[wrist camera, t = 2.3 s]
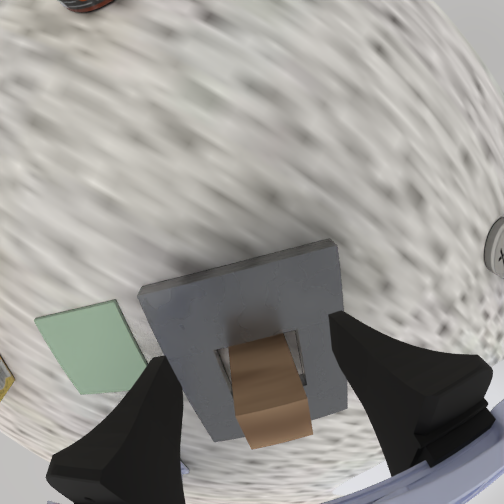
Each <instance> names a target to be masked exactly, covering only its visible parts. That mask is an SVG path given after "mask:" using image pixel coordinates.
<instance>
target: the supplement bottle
mask: <svg viewBox="0 0 504 504" xmlns="http://www.w3.org/2000/svg"><path fill="white" fill-rule="evenodd" d="M57 1H59V2H60V3H61V4H62V5H63V6H64V7H66V8H67V9H69V10H71V11H74V12H87V11H92V10H95V9H98V8H101V7H103V6H104V5H106V4H108V3H110V2H111V1H113V0H57Z"/></svg>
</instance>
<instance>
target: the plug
mask: <svg viewBox="0 0 504 504" xmlns="http://www.w3.org/2000/svg"><path fill="white" fill-rule="evenodd" d="M228 348H229V359H230V370H231V380H232V390H233V399H234V409H235V417H236V419H237V421H238V423H239V425H240V427H241V429H242V431H243V433H244V435H245V437H246V439H247V441H248V443H249V445H250V447H251V449H257V448H262V447H266V446H271V445H275V444H279V443H283V442H287V441H291V440H295V439H298V438H302V437H306V436H309V435H312V434H313V430H312V424H311V418H310V411H309V405H308V399H307V396H306V393H305V391H304V388H303V385H302V382H301V380H300V377H299V374H298V372H297V369H296V366H295V363H294V361H293V358H292V355H291V353H290V350H289V347H288V345H287V342H286V339H285V336H284V334H283V333H281V334H277V335H274V336H270V337H266V338H262V339H258V340H254V341H250V342H246V343H242V344H238V345H234V346H230V347H228Z"/></svg>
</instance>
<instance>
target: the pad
mask: <svg viewBox="0 0 504 504" xmlns="http://www.w3.org/2000/svg"><path fill="white" fill-rule="evenodd" d="M34 322H35V324H36V326H37V327H38V329H39V331H40V333H41V334H42V336H43V338H44V340H45V341H46V343H47V345H48V346H49V348H50V350H51V351H52V353H53V355H54V356H55V358H56V359H57V361H58V362H59V364H60V366H61V367H62V369H63V370H64V372H65V373H66V375H67V376H68V377H69V379H70V380H71V382H72V383H73V385H74V386H75V387H76V389H77V390H78V391H79V393H80V394H81V395H82V394H97V393H109V392H120V391H129V390H130V389H131V388H132V386H133V385H134V383H135V382H136V381H137V379H138V378H139V377H140V375H141V374H142V372H143V371H144V369H145V368H146V366H147V365H148V364H147V362H146V360H145V358H144V356H143V354H142V353H141V351H140V349H139V347H138V345H137V343H136V341H135V339H134V337H133V335H132V333H131V331H130V329H129V327H128V325H127V323H126V321H125V319H124V317H123V315H122V313H121V310H120V308H119V306H118V304H117V302H116V300H112V301H107V302H103V303H99V304H95V305H91V306H86V307H82V308H78V309H74V310H69V311H65V312H61V313H56V314H52V315H48V316H43V317H39V318H36V319H35V320H34Z"/></svg>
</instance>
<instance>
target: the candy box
mask: <svg viewBox="0 0 504 504" xmlns="http://www.w3.org/2000/svg"><path fill="white" fill-rule="evenodd" d="M14 381H15V379H14V377H13V376H12V374H11V373H10V371H9V369H8V368H7V366H6V365H5V363H4V361H3V360H2V358H1V356H0V402H1V400H2V399H3V397H4V396H5V394H6V393H7V391H8V390H9V388H10V387H11V385H12V384H13V382H14Z"/></svg>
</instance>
